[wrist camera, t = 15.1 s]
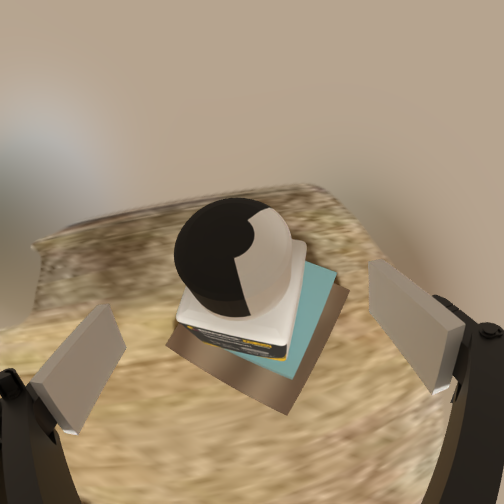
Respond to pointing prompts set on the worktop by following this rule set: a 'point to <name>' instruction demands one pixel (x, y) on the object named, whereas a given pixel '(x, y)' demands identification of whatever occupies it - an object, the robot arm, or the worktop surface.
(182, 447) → the worktop surface
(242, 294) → the medicine bottle
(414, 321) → the robot arm
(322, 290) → the tower top block
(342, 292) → the tower base slab
